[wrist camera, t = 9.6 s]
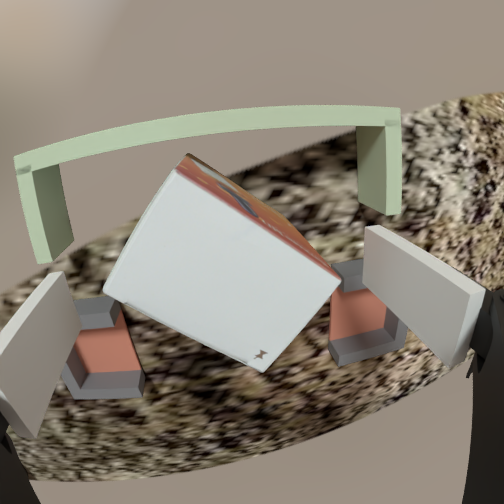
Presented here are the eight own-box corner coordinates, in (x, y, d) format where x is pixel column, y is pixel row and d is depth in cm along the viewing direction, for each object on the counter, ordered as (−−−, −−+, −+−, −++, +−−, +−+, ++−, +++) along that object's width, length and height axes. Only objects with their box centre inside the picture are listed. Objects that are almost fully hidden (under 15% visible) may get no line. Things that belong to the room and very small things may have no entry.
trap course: (80, 380, 25) (70, 411, 21) (8, 161, 17) (-22, 170, 14) (390, 332, 28) (411, 357, 24) (403, 112, 20) (436, 111, 17)
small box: (284, 215, 22) (349, 282, 12) (238, 277, 23) (266, 377, 14) (187, 149, 19) (173, 164, 10) (142, 219, 21) (98, 294, 11)
